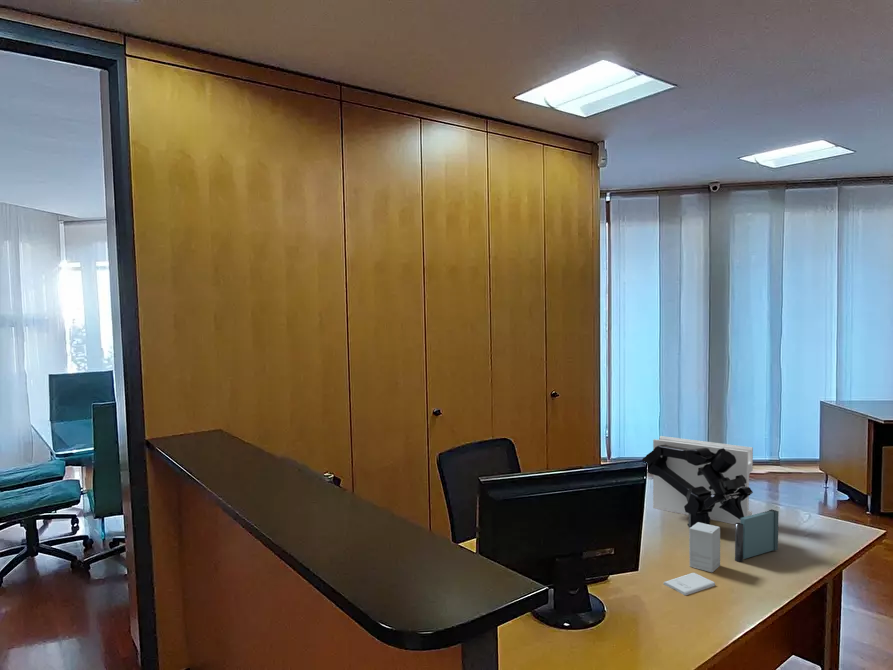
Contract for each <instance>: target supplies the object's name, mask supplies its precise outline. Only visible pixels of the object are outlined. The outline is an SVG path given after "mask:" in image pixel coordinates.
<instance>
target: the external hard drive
mask: <svg viewBox="0 0 893 670" xmlns="http://www.w3.org/2000/svg"><path fill="white" fill-rule="evenodd" d="M663 585H664V586H665V587H668V588H669V589H671V590H672V589H673V590H675V591H676V592H678V593H679V594H682V595H683V596H688V595H691V594H695V593H698V592H700V591H703V590H706V589H710V588H713V587H715V586H716V582H715V581H713V580H711V579H709V578H706V577H704V576H702V575H700V574H698V573H697V572H691V573H690V572H689V573H688V574H685V575H681V576H678V577H676V578H672V579H669V580H666V581H663Z"/></svg>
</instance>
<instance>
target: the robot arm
mask: <svg viewBox="0 0 893 670" xmlns="http://www.w3.org/2000/svg"><path fill="white" fill-rule="evenodd" d="M660 456H662V457H660ZM667 457H672V458H678V459H683V460H686V461H687V462H688V463H690V464H693V465H695V466H698V465H703V464H706V465H705V466H704V467H701V468H698V473H697V475H698V476H700V475H704V477H705V478H706V480H707V481H708V483H709V484H710V487H709V489H710V490H712V489H713V490H714V492H715V493H716V494H711V491H708V490H707V489H706V488H705V487H703V486H700V487H696V488H695V487H693V486H692V485H691V484H689V483H688V482H687V481H685V480H684V479H683V478H681V477H680V476H679V475H677V474H676V473H675V472H673V471H672V470H671V469H669V468H668V467H667V464H666V461H667ZM642 461H645V462H647V463H648V472H647V473H648V474H650V475H652V476H653V475H656V476H659V477H661V478H662V479H663V480H664V481H666V482H667V483H668V484H670V485H671V486H672V487H674V488H675V489H676V490H677V491H679V492H680V493H681V494H683V495H684V496H685V497H686V499H687V502H688V503H687V504H686V505H685V506H684V508H685V512H687V513H689V515H688V523H687V527H688V529H689V528H690V527H692V526H693V525H695V524H696V523H697V522H700V523H704V524H709V525H711V519H710V517H709V516H708V512H712V509H713V507H714V506H715V503H718V502H720V504H721V506H720V507H719V508H722V509H724V510H725V511H727V512H729V513H731V514H732V515H734V516H735V517H737V518H738V519H740V518H742V517H744V514H743V511H742V507H741V501H743V500H744V499H746V498H747V497H748V496H749V497H750V496H751V495H752V494H753V493H754V492H753V490H752V489H751V487H750V486H749V487H745V484H746V479H745V477H744V476H743V475H738V476H736V479H733V480H730V479H729V478H728V477H726V478H725V477H724V476H723V474H722V473H725V472H726V471H727V470H729V469H730V468H731V467H732V466H733V465H734V464H735V463H736V458H735V456H734V455H732V454H731V453H730V452H728V451H726V450H725V449H724V448H722V449H719V450H718V451H717V453H716V454H715V453H713V452H711V451H710V450H709V449H708V448H696V449H687V448H680V447H674V446H668V445H659V446H657V447H655V449H654V450H652V451H650V452H649V453H648V454H646V455H645V456H644V457H643V458H642V459H641V462H642ZM710 462H711V463H710ZM708 463H710V464H708ZM740 487H742V488H740ZM737 488H740V489H738V490H737ZM736 490H737V491H736ZM734 491H736V492H735V493H734ZM730 496H731V497H730Z"/></svg>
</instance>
